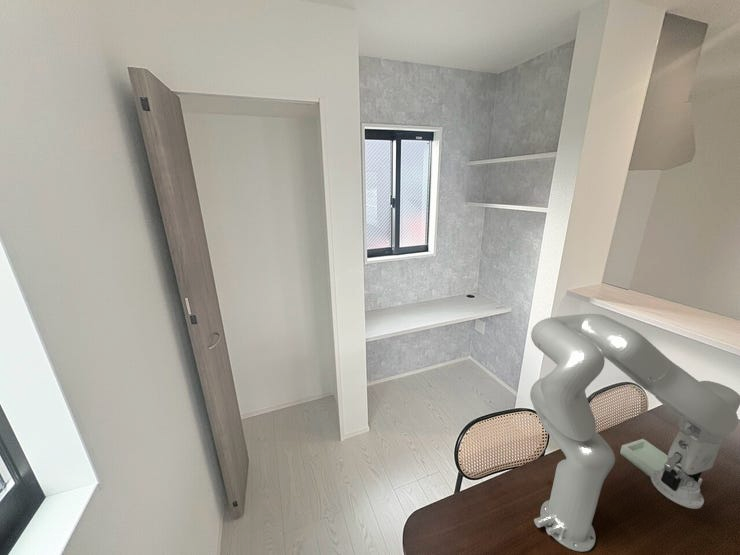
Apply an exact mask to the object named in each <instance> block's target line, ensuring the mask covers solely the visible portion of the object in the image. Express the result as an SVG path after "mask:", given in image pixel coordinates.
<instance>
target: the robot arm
mask: <svg viewBox="0 0 740 555" xmlns="http://www.w3.org/2000/svg"><path fill="white" fill-rule="evenodd" d="M530 335H531V336H530V337H531V341H532V343H533V344H534V346H535V347H536V348H537V349H538V350H540V351H541V353H543V354H544V355H545V356H546V357H548V358H549V359H550V360H551V361H553V362H554V363H555V364H556V366H555V368H554V369H553V370H552V371H551V372H550V373H548V374H547V375H545V376H544V377H542V378H540V379H538V380H536V381H535V382H534V383H533V385H532V386H531V389H530V394H529V398H530V401H531V403H532V406H533V408H534V411H535V413H536V414H537V417H538V419H539V421H540V424H541V425H542V427H543V428H544V430H545V431H546V433H547V435H548V436H550V437H551V439H552V440H553V441H554V443H556V445H557V446H558V447H559V449H560V450H561V452H563V454H564V456H565V459H562V460H561V461H559V462H558V463H557V466H556V469H555V474H554V479H553V483H552V488H551V492H550V498H549V499H548V500H546V501H545V502H543V503H542V505H541V507H540V516H539V517H536V518H534V519H533V522H534V524H535V526H536V527H537V528H542V527H544V528H545V531H546V533H547V535H548V536H552V538H553V539H554V540H555V541H557V542H558V543H559V544H560V545H562V546H564V547H566V548H567V549H570V550H572V551H575V552H581V553H582V552H589V551H590V550H591V549H592V548H593V547H594V545H595V543H596V532H595V529H594V526H593V525H592V523H593V519H594V516H595V513H596V509H597V506H598V502H599V498H600V494H601V491H602V489H603V488H602V487H603V485H604V483H605V479H606V478H607V477H608V475H609V473H610V472H611V471H612V470H613V467H614V466H615V463H616V457H615V454H614V450H613V449H612V448H611V447H610V444H608V443H607V441H606V440H605V439H604V438H603V437H602V436H601V435H600V434H599V433H598V431H596V430H597V424H596V418H595V416H594V413H593V410H592V407H591V405H590V403H589V400H588V397H587V394H586V390H587V388H588V387H589V386H590V385H591V383H592V382H594V381H595V379H596V378H598V377H599V376H600V374H601V372H602V371H603V369H604V368H605V367H604V366H605V363H606V362H605V359H606V360H608V361H609V362H611V364H613V365H614V366H616V368H618V369H619V370H620V371H621V372H623V373H624V374H625V375H626V376H627V377H628V378H630V380H632V381H634V382H635V383H636V385H638V386H640V387H641V388H643V389H644V390H645V391H647V393H650V394H651V395H653V396H654V397H655V398H656V399H657V400H658V401H659V402H660V403H661V404H662V405H664V406H665V407H667V408H668V409H670V410H671V411H672V412H674V413H676V414H677V415H679V416H680V417H681V418H680V420H679V424H678V426H679V431H678V433H677V435H675V436H676V437H674V438H675V439H674V440H673V442H672V444H671V446H670V447H669V450H668V453H667V455H668V456H667V459H668V461H667V462H666V463H665V464H664V466H665V469H664V470H665V471H664V473H663V476H662V478H661V481H662V482H663V483H665V484H666V485H667V486H668V487H670V488H671V489H672V490H674V491H676V490H677V488H678V486H679V484H680V482H681V479H680V477H681V476H682V474H683V473H684V472H685V474H686V475H688V476H689V477H690V478H693V479H694V481H696V482H697V483H698V480H699V478H701V476H702V474H703V472H705V471H708V470H710V469H712V468H713V466H714V465H715V464H714V463H715V461H716V458H717V456H718V453H719V451H720V448H721V445H723V442H724V440H725V438H726V435H729V434H732V433H733V431H735V430H736V429H737V428H738V424H739V417H738V414H737V412H738V410H739V407H740V394H739V393H738V392H737V391H735V390H734V389H733V388H731V387H729V386H726V385H724V384H721V383H719V382H715V381H710V380H698V379H696V378H695V377H693V376H692V375H691V374H690V373H688V372H687V371H686V370H685V369H683V368H682V367H680V366H679V365H677V364H676V363H675V362H673V361H672V360H671V359H669V357H667V356H666V355H665V354H663V352H661V351H660V350H659V349H658V348H657V347H656V346H655V345H654V344H653V343H652V342H650V340H648V339H647V338H646V337H645V336H643V334H642V333H640V332H638V331H637V330H635V329H633V328H632V327H629V326H628V325H626V324H623V323H621V322H619V321H617V320H615V319H613V318H611V317H609V316H606V315H603V314H601V313H598V314H596V313H582V314H580V313H579V314H571V315H561V316H560V315H559V316H553V317H546V318H543V319H541V320H540V321H539V322H537V323H536V324H535V325H534V326H533V327H532V329H531V333H530ZM678 463H679V464H681V466H679V465H678ZM675 466H676V467H677V468H679V469H680V470H679V471H678V472H676V471H675V470H674V467H675Z"/></svg>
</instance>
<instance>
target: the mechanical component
mask: <svg viewBox="0 0 740 555" xmlns="http://www.w3.org/2000/svg"><path fill="white" fill-rule="evenodd" d="M664 469H665V467H664V468H662V469H661V470H656V471H653V473H652V475H651V477H650V481H651V483H652V484H653V486H654V487H655V488H656V489H657V491H659V492H660V493H661V494H662V495H663V496H665V497H666V498H667V499H668V500H670V501H672V502H674V503H675V504H678V505H680V506H681V507H682V506H683V507H685V508H688V509H693V510H695V509H696V510H697V509H700V508H702V507H703V505H704V502H705V499H704V496H703V495H702V493H701V487H699V484H697V482H696V481H694V479H693V478H690V477H689V476H688V475H686V474H685V472H684V473H683V474H682V476H681V477H680V479H681V482H680V484H679V486H678V488H677V490H676V491H674V490H672V489H671V488H670V487H668V486H667V485H666V484H665V483H663V482H662V481H661V478H662V476H663V473H664V471H665V470H664ZM674 470H675V471H676V472H678V471H679V470H676V468H674Z"/></svg>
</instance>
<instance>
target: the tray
mask: <svg viewBox="0 0 740 555" xmlns="http://www.w3.org/2000/svg"><path fill="white" fill-rule="evenodd" d="M619 454H620V455H621V456H623V457H624V458H626V460H628V461H629V462H630V463H632V464H633V465H634V466H635V467H637V468H638V469H640V470H641V471H642V472H643V473H645V475H646V476H649V477H650V478H651V475H652V473H653V471H656V470H661V469H662V468H664V467H665V466H664V464H665V463H666V462H667V461H668V459H667V456H668V454H666V453H664V452H663V451H662V450H661V449H659V448H658V447H656V446H654V445H653V444H652V443H650V442H649V441H648V440H645V439H644V438H641V439H637V440H635V441H631V442H628V443H625V444H621V448H620V451H619ZM678 465H679V466H681V464H680V463H678ZM674 468H676V470H680V469H679V468H677V467H676V466H675V467H674ZM702 483H703V478H701V477H700V478H699V480H698V483H697V484H699V487H700V486H701V485H702ZM700 488H701V487H700Z"/></svg>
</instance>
